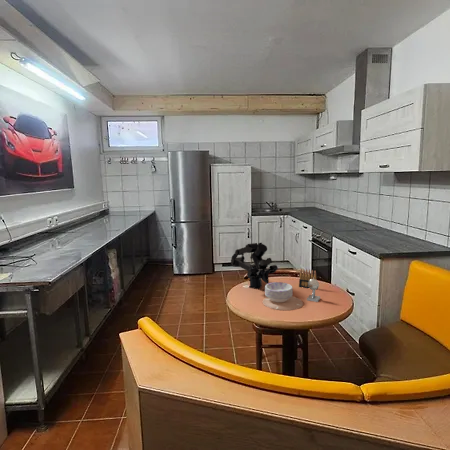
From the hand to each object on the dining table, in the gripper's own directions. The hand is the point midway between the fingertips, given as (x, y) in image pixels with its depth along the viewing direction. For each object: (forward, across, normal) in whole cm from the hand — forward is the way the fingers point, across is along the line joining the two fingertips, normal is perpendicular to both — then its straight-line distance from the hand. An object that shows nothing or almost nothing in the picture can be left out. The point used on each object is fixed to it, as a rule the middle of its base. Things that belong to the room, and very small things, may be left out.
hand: (267, 283), depth 195 cm
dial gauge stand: (+18, +18, -9) cm, 27 cm away
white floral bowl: (+13, 0, -3) cm, 13 cm away
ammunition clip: (+6, +28, +3) cm, 29 cm away
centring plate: (+16, 0, -6) cm, 17 cm away
